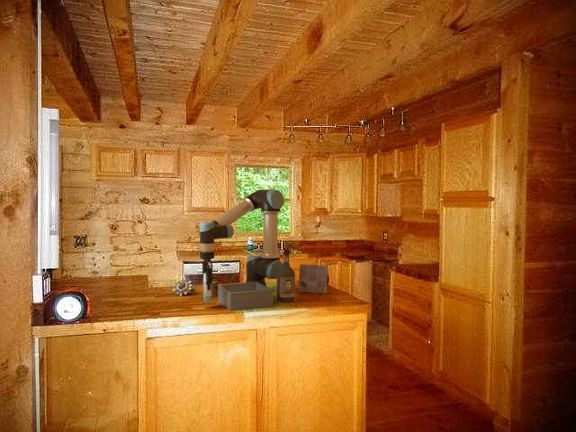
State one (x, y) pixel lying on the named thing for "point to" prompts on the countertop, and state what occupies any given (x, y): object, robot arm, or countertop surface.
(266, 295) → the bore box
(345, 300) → the countertop surface
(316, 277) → the cake pan box
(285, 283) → the liquor
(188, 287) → the passion flower
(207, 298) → the peg
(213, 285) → the condiment
